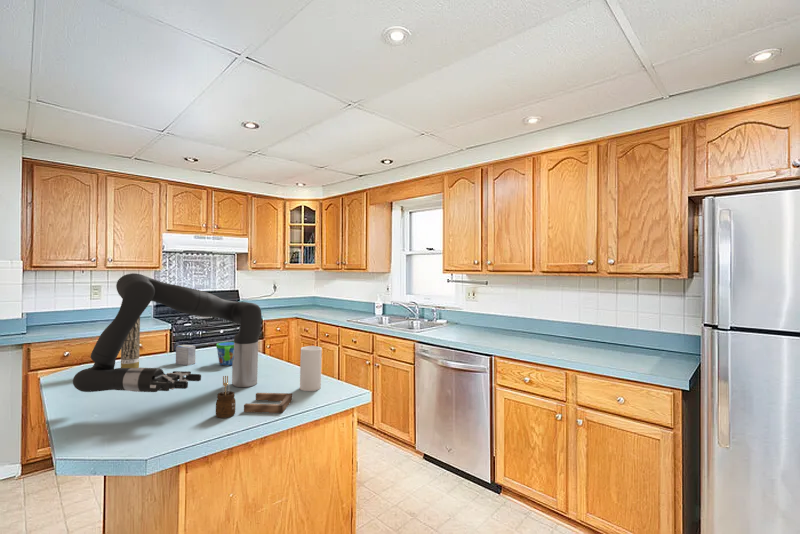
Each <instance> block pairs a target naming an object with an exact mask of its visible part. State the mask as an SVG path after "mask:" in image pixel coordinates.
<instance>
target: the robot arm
mask: <svg viewBox="0 0 800 534" xmlns="http://www.w3.org/2000/svg"><path fill="white" fill-rule="evenodd" d="M115 288H116V291H117V293H118V296H120V297H121V299H122V301H121V303H120V308H119V309H118V312H117V314H116V316H115V317H114V318H113V320H112V321H111V322H110V323H109V324H108V325H107V326H106V327H105V328H104V330H103V331H102V333H101V334H100V335H99V337H98V339H97V341H96V343H95V344H94V347H93V349H92V351H91V354H90V359H91V360H92V361H93V365H92V367H91V366H90V367H88V368H85V369H81V370H80V371H78V372H76V373H75V375H74V376H73V378H72V386H74V389H76V390H78V391H80V392H84V393H93V392H95V393H96V392H105V391H123V392H124V391H125V392H129V391H130V392H136V393H137V392H138V393H157V392H169V391H170V390H174V389H176V390H177V389H180V390H184V389H185V390H186V389H188V388H189V382H201V380H202V374H200V373H192V371H189V370H188V371H186V370H185V371H181V370H180V371H179V370H178V371H177V370H173V371H171V372H166V373H165V372H164V370H163V369H162V368H159V367H139V368H121V367H116V368H115V366H116V359H117V358H118V355H119V354H120V353H121V348H122V346H123V344H124V342H125V340H126V338H127V336H128V334H129V332H130V331H131V329H132V328H133V326H134V325H135V323H136V322H137V320H138V319H139V317H140V318H141V316H142V314H143V313H144V312H145V310H146V309H147V307H149V305H150V303H151V302H154V303H157V304H161V305H164V306H166V307H168V308H171V309H173V310H175V311H177V312H180V313H182V314H187V315H192V316H197V317H204V318H219V319H223V320H226V321H229V322H232V323H235V324H238V325H240V326H239V332H238V333H237V334H235V335H234V337H233V342H234V360H233V362H232V365H231V367H232V369H231V370H232V371H231V372H232V373H231V374H232V375H231V383H232V386H234V387H237V388H248V387H249V388H250V387H253V386H256V385H257V384H258V375H259V374H258V373H259V372H258V370H259V369H258V368H259V365H258V363H259V337H260V335H261V332H262V330H261V329H262V316H263V315H262V310H261V309H262V308H261V307H260V305H258V304H257V303H255V302H254V303H253V302H247V301H235V300H229V299H224V298H220V297H218V296H217V295H215V294H212V293H210V292H207V291H203V290H199V289H196V288H191V287H186V286H182V285H176V284H171V283H167V282H163V281H160V280H158V279H155V278H151V277H148V276H147V275H144V274H141V273H135V272H134V273H133V272H132V273H127V274H124V275H122V276H121V277H119V278H118V280H117V281H116V284H115Z"/></svg>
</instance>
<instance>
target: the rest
mask: <svg viewBox="0 0 800 534" xmlns="http://www.w3.org/2000/svg"><path fill="white" fill-rule="evenodd" d="M256 400H268V401H267V402H280V403H244V404H243V413H262V412H269V413H270V414H271V413H272V414H273V413H274V414H283V413H284V412H285V410H286V409H287V408H288V406H289V405H290V404H291V402H292V401H293V393H289V392H288V393H287V392H286V393H284V392H281V393H280V392H256V393H255V401H256ZM289 403H290V404H289ZM286 407H287V408H286ZM269 413H268V414H269Z"/></svg>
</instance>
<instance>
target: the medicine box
mask: <svg viewBox="0 0 800 534" xmlns="http://www.w3.org/2000/svg"><path fill="white" fill-rule="evenodd" d="M191 364H192V365H195V364H196V345H190V344H180V345H177V346H175V365H182V366H192V365H191Z"/></svg>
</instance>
